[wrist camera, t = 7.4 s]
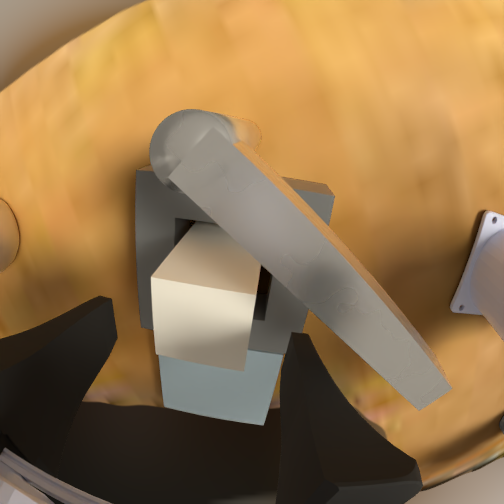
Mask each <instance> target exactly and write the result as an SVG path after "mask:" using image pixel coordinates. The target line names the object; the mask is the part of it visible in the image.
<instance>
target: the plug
mask: <svg viewBox="0 0 504 504" xmlns="http://www.w3.org/2000/svg"><path fill="white" fill-rule="evenodd" d="M260 268H261V264H260V263H259V262H258V261H257V260H256V259H255V258H254V257H253V256H252V255H250V254H249V253H248V252H247V251H246V250H245V249H244V248H243V247H242V246H241V245H240V244H239V243H238V242H237V241H235V240H234V239H233V238H232V237H231V236H230V235H229V234H228V233H227V232H226V231H225V230H224V229H223V228H222V227H220V226H219V225H218V224H217V223H210V222H203V221H196V222H195V224H194V225H193V226H192V227H191V228H190V230H189V231H188V232H187V233H186V234H185V235H184V237H183V238H182V239H181V240H180V241H179V243H178V244H177V245H176V246H175V248H174V249H173V250H172V251H171V252H170V254H169V255H168V256H167V257H166V259H165V260H164V261H163V262H162V264H161V265H160V266H159V267H158V269H157V270H156V271H155V272H154V274H153V275H152V276H151V294H152V312H153V327H154V339H155V351H156V354H158V355H162V356H166V357H170V358H175V359H179V360H184V361H189V362H193V363H198V364H203V365H208V366H214V367H219V368H225V369H231V370H237V371H243V372H244V369H245V362H246V356H247V350H248V344H249V338H250V332H251V325H252V319H253V313H254V306H255V300H256V294H257V287H258V281H259V274H260Z"/></svg>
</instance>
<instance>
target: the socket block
mask: <svg viewBox="0 0 504 504" xmlns="http://www.w3.org/2000/svg"><path fill="white" fill-rule="evenodd" d="M281 178H282V179H283V180H284V181H285V182H286V183H287V184H288V185H289V186H290V187H291V188H292V189H293V190H294V191H295V192H296V193H297V194H298V195H299V196H300V197H301V198H302V199H303V200H304V201H305V202H306V203H307V204H308V205H309V206H310V207H311V208H312V210H313V211H314V212H315V213H316V214H317V215H318V216H319V217H320V218H321V219H322V220H323V221H324V222H325V223H326V224H327V226H329V222H330V217H331V212H332V208H333V203H334V198H335V196H334V194H333V193H332V192H331V190H330V189H329V188H328V186H327V185H326V184H321V183H315V182H310V181H304V180H298V179H292V178H286V177H281ZM190 220H196V221H203V222H210V223H216V222H215V221H214V220H213V219H212V218H211V217H210V216H209V215H208V214H207V213H205V212H204V211H203V210H202V209H201V208H200V207H199V206H198V205H197V204H196V203H195V202H194V201H193V200H192V199H191V198H189V197H188V196H187V195H186V194H182V193H178V192H176V191H173V190H171V189H170V188H168V187H167V186H165V185H164V184H163V183H162V182H161V181H160V180H159V179H158V177H157V176H156V174H155V172H154V171H153V168H152V165H149V166H146V167H143V168H140V169H137V170H136V199H135V231H136V265H137V284H138V298H139V311H140V322H141V327H142V328H146V329H151V330H154V327H153V312H152V294H151V276H152V275H153V274H154V272H155V271H156V270H157V269H158V267H159V266H160V265H161V264H162V262H163V261H164V260H165V259H166V257H167V256H168V255H169V254H170V252H171V251H172V250H173V249H174V248H175V246H176V245H177V244H178V243H179V241H180V240H181V239H182V238H183V237H184V235H185V234H186V233H187V232H188V231H189V228H190ZM307 312H308V308H307V307H306V306H305V305H304V304H303V303H302V302H301V301H300V300H299V299H298V298H297V297H296V296H294V295H293V294H292V293H291V292H290V291H289V290H288V289H287V288H286V287H285V286H284V285H283V284H282V283H281V282H279V281H278V280H277V279H276V278H275V277H274V276H273V275H272V274H271V275H270V281H269V286H268V292H267V294H262V293H257V294H256V300H255V306H254V313H253V319H252V325H251V332H250V338H249V344H248V348H249V349H255V350H262V351H269V352H276V353H284V354H286V351H287V347H288V343H289V340H290V336H291V332H297V333H302V331H303V327H304V323H305V320H306V316H307Z"/></svg>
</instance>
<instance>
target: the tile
mask: <svg viewBox="0 0 504 504" xmlns="http://www.w3.org/2000/svg"><path fill="white" fill-rule="evenodd" d="M282 358H283V353H276V352H269V351H262V350H255V349H249V348H248V350H247V356H246V362H245V369H244V372H243V371H237V370H231V369H225V368H219V367H214V366H208V365H203V364H198V363H193V362H189V361H184V360H179V359H175V358H170V357H166V356H162V355H159V365H160V375H161V384H162V393H163V401H164V407H168V408H172V409H176V410H180V411H184V412H189V413H194V414H198V415H203V416H208V417H213V418H219V419H225V420H231V421H237V422H243V423H250V424H259V425H264V422H265V419H266V415H267V412H268V409H269V405H270V402H271V398H272V395H273V391H274V388H275V384H276V380H277V377H278V373H279V370H280V366H281V362H282Z"/></svg>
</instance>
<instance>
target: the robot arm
mask: <svg viewBox="0 0 504 504" xmlns="http://www.w3.org/2000/svg"><path fill="white" fill-rule="evenodd" d="M493 217H494V220H493V221H492V219H493ZM461 305H462V306H461ZM460 306H461V307H460ZM459 307H460V308H459ZM450 309H451V310H452V312H454V313H465V314H477V315H483V316H484V317H485V318H486V319H487V321H488V322H489V323H490V324H491V326H492V327H493V328H494V329H495V331H496V332H497V333H498V335H499V336H500V337H501V339H502V340H503V341H504V215H501V214H498V213H495V212H493V211H490V210H487V211H485V212H484V214H483V217H482V220H481V224H480V227H479V230H478V233H477V237H476V240H475V243H474V246H473V249H472V252H471V254H470V257H469V260H468V263H467V265H466V268H465V271H464V273H463V276H462V278H461V281H460V283H459V286H458V288H457V291H456V293H455V295H454V298H453V300H452V302H451V304H450ZM116 340H117V331H116V325H115V318H114V311H113V304H112V299H111V298H107V297H103V296H98V297H95V298H93V299H91V300H89V301H87V302H85V303H83V304H81V305H79V306H78V307H76V308H74V309H72V310H70V311H68V312H66V313H64V314H62V315H60V316H58V317H56V318H54V319H52V320H50V321H48V322H46V323H44V324H42V325H40V326H37V327H35V328H32V329H30V330H27V331H24V332H22V333H19V334H16V335H12V336H9V337H5V338H2V339H0V504H54V503H53V502H52V501H51V500H49V499H48V497H46V495H44V494H43V493H41V492H40V491H38V490H37V489H35V488H34V487H33V486H35V487H36V488H38V489H40V490H41V491H43V492H45V493H47V494H49V495H50V496H52V497H54V498H56V499H58V500H60V501H61V502H63V503H65V504H111V503H109V502H106V501H104V500H101V499H99V498H96V497H94V496H92V495H90V494H87V493H85V492H83V491H80V490H78V489H76V488H74V487H72V486H70V485H68V484H66V483H64V482H62V481H60V480H58V479H56V478H57V475H58V470H59V465H60V461H61V456H62V452H63V449H64V446H65V443H66V439H67V436H68V433H69V430H70V428H71V425H72V423H73V420H74V417H75V415H76V413H77V411H78V408H79V405H80V403H81V402H82V400H83V398H84V396H85V394H86V392H87V391H88V389H89V388H90V386H91V384H92V383H93V381H94V380H95V378H96V376H97V375H98V373H99V372H100V370H101V368H102V367H103V365H104V364H105V362H106V360H107V359H108V357H109V355H110V353H111V351H112V349H113V347H114V344H115V342H116ZM280 414H281V439H282V441H281V442H282V443H281V445H282V447H281V460H280V470H279V480H278V489H277V497H276V504H404V503H405V502H407V501H408V500H410V499H411V498H412V497H414V496H415V495H416V494H417V493H418V492H419V491H420V490H421V488H422V486H423V484H422V480H421V475H420V471H419V468H418V465H417V462H416V460H415V459H413V458H412V457H410V456H409V455H407V454H406V453H404V452H403V451H401V450H400V449H398V448H397V447H395V446H394V445H392V444H391V443H390V442H389V441H387V440H386V439H385V438H384V437H382V436H381V435H380V434H379V433H378V432H377V431H375V430H374V429H373V428H372V427H371V426H370V425H369V424H368V423H367V422H366V421H365V420H364V419H363V418H362V417H361V416H360V415H359V414H358V412H357V411H356V410H355V409H354V408H353V407H352V405H351V404H350V403H349V402H348V401H347V399H346V398H345V397H344V395H343V394H342V392H341V391H340V390H339V388H338V387H337V385H336V384H335V382H334V381H333V379H332V378H331V376H330V374H329V373H328V371H327V369H326V368H325V366H324V364H323V362H322V361H321V359H320V357H319V355H318V353H317V351H316V349H315V347H314V345H313V343H312V341H311V339H310V337H309V335H308V334H305V333H297V332H291V336H290V340H289V343H288V347H287V351H286V355H285V358H284V362H283V366H282V369H281V381H280ZM29 483H30V484H32V485H33V486H31V485H30V484H29Z"/></svg>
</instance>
